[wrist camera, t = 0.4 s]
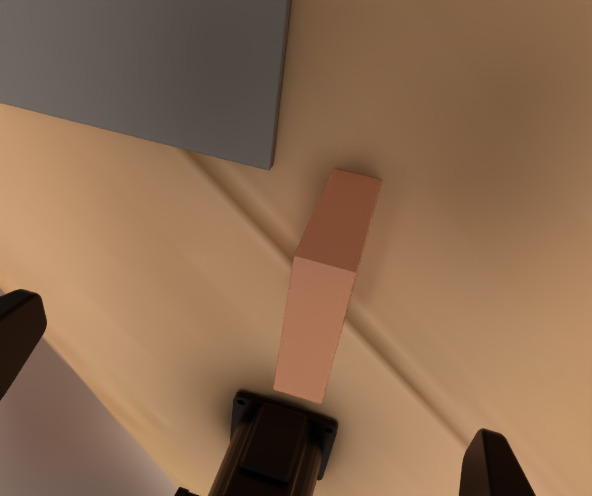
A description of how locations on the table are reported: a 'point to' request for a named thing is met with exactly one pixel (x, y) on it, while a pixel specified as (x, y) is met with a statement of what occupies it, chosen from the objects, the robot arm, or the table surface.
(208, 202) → the table surface
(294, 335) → the block
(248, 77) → the mat
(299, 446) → the robot arm
